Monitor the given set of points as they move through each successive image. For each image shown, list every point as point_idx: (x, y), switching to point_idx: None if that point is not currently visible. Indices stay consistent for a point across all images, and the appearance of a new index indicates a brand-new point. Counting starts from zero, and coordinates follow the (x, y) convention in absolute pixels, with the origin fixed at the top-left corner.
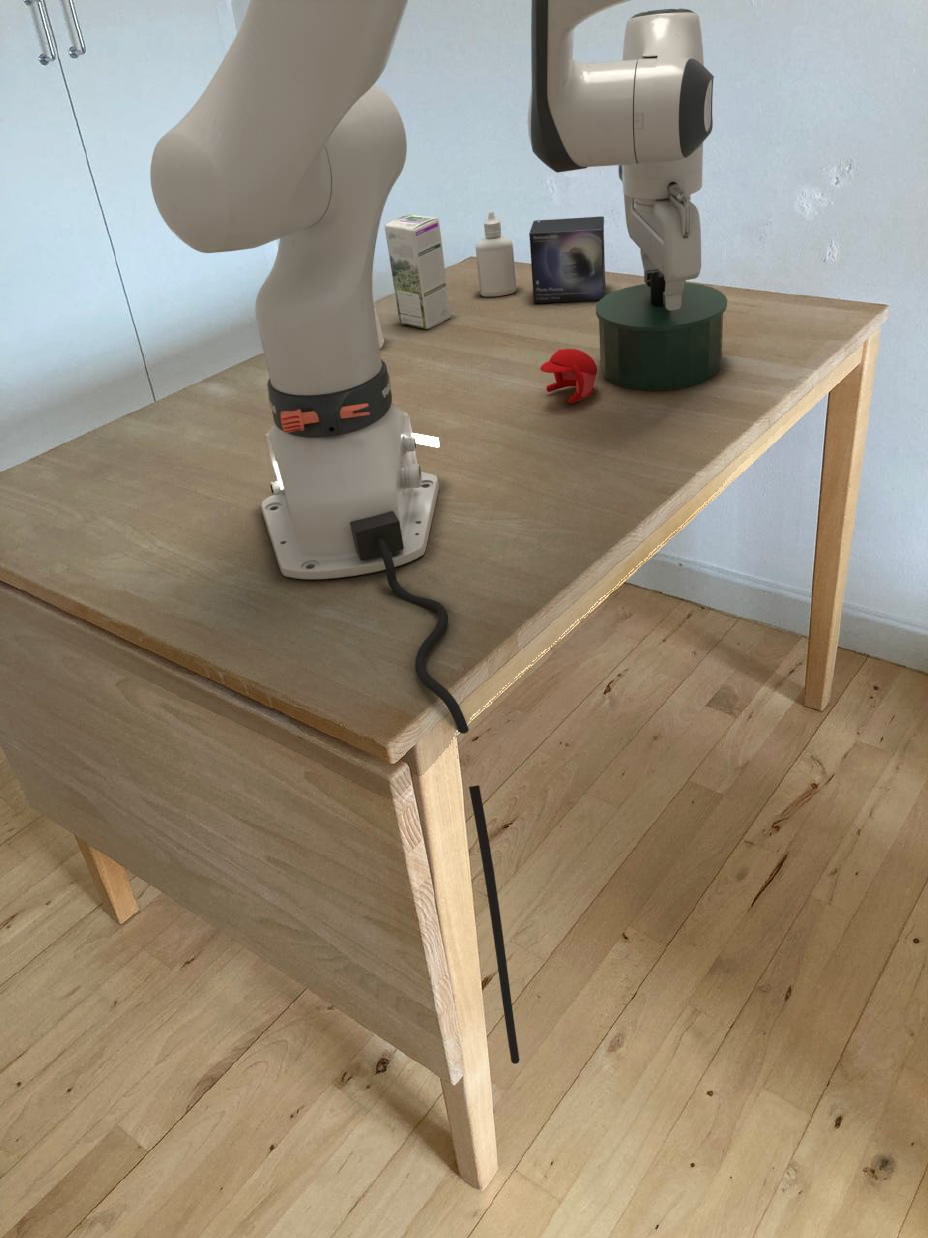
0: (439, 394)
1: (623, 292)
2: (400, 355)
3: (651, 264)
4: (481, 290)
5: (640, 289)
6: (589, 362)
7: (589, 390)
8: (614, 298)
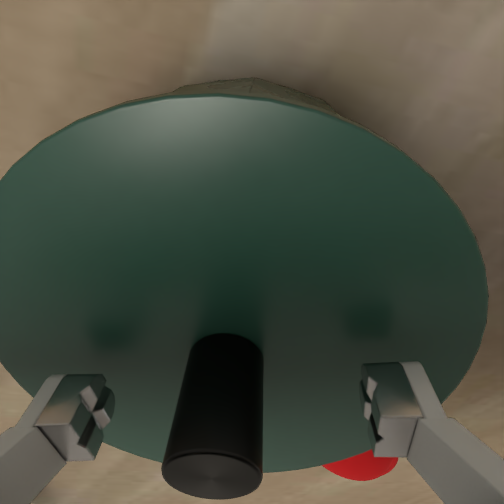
0: (262, 481)
1: None
2: (126, 500)
3: (30, 469)
4: None
5: None
6: None
7: None
8: (147, 438)
